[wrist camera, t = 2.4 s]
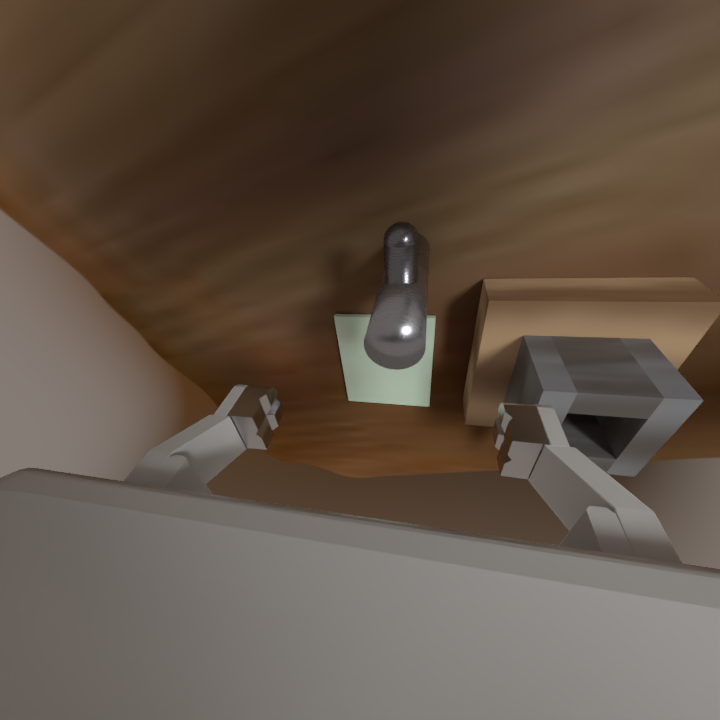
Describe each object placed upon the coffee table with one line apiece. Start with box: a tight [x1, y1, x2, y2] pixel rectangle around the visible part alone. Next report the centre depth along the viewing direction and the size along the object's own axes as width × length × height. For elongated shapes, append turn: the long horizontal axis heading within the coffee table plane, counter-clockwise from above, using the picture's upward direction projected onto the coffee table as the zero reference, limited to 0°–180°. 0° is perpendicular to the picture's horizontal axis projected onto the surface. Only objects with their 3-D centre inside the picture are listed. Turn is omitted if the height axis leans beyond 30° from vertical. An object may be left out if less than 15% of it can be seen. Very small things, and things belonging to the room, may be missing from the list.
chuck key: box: [364, 222, 429, 370], centre depth 17 cm, size 8×3×10 cm, turn 6°
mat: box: [334, 314, 436, 407], centre depth 27 cm, size 10×8×1 cm
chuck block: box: [463, 277, 720, 477], centre depth 21 cm, size 14×12×8 cm
